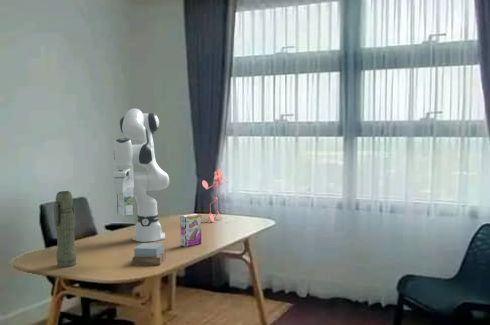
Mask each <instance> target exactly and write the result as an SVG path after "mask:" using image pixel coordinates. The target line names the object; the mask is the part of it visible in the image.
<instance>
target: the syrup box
mask: <svg viewBox="0 0 490 325" xmlns="http://www.w3.org/2000/svg"><path fill="white" fill-rule="evenodd" d="M124 198H125V201H124V202H120V197H119V193H116V212H117V214H116V216H118V217H131V216H134V215H135V212H134V210H135V209H134V208H135V206H134V196H133V186H130V185H129V186H128V187H127V191H126V192H124Z"/></svg>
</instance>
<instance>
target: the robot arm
mask: <svg viewBox="0 0 490 325" xmlns="http://www.w3.org/2000/svg"><path fill="white" fill-rule="evenodd" d="M159 126H160V120H159V118H158V115H157V114H156V113H154V112H148V113H146V112H145V113H143V112H142V111H141V109H138V108H130V109H129V110H128V111H126V114H125V115H124V116H122V117H121V118H120V119H119V129H120V132H121V133H122V134H124V135H125V137H124V138H118V139H115V141H114V150H113V159H114V162H115V163H114V171H113V172H112V178H113V185H114V192H115V194H117V193H119V197H120V202H124V201H125V198H124V192H126V191H127V187H128V186H129V185H130V186H133V198H135V201H136V207H137V215H136V222H137V223H136V224H135V225H134V236H133V237H131V240H133V241H136V242H142V243H151V242H156V241H162V240H165V239H166V233H165V232H163V230H162V225H161V223H160V221H159V213H158V201H157V200H156V198H154V197H152V196H150V195H148V194H147V192H150V191H160V190H164V189H167V188H168V187H169V185H170V177H169V175H168V173H167V172H166V171H164V170H163V169H162V168H161V167H160V166H159V164H158V162H157V161H156V160H157V159H156V156H155V155H156V154H155V145H154V139H153V135H154V134H155V132H157V131H158V129H159ZM132 140H133V141H134V144H133V143H132ZM134 165H139V166H141V167H143V168H145V169H146V171H134Z"/></svg>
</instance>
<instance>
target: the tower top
mask: <svg viewBox="0 0 490 325" xmlns="http://www.w3.org/2000/svg"><path fill="white" fill-rule="evenodd" d="M164 246H165V245H164V243H161V242H160V243H156V242H142V243H140V244H138V245H137V246H135V247H134V249H133V250H134V252H133V253H134V256H135V257H158V256H159V255H160V254H161V253H163V252H164V251H165V247H164Z"/></svg>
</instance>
